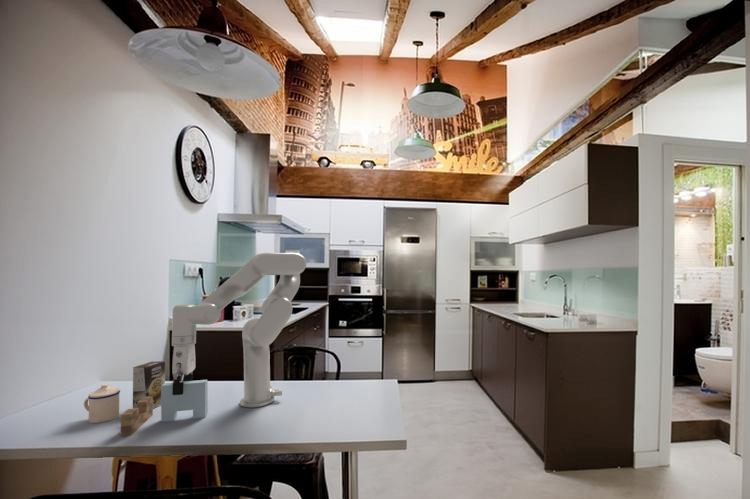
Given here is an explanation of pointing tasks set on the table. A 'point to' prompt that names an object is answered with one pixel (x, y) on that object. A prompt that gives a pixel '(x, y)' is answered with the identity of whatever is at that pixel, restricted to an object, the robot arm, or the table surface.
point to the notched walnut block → (136, 416)
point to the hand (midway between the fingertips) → (182, 390)
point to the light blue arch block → (184, 400)
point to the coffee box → (148, 382)
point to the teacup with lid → (103, 404)
